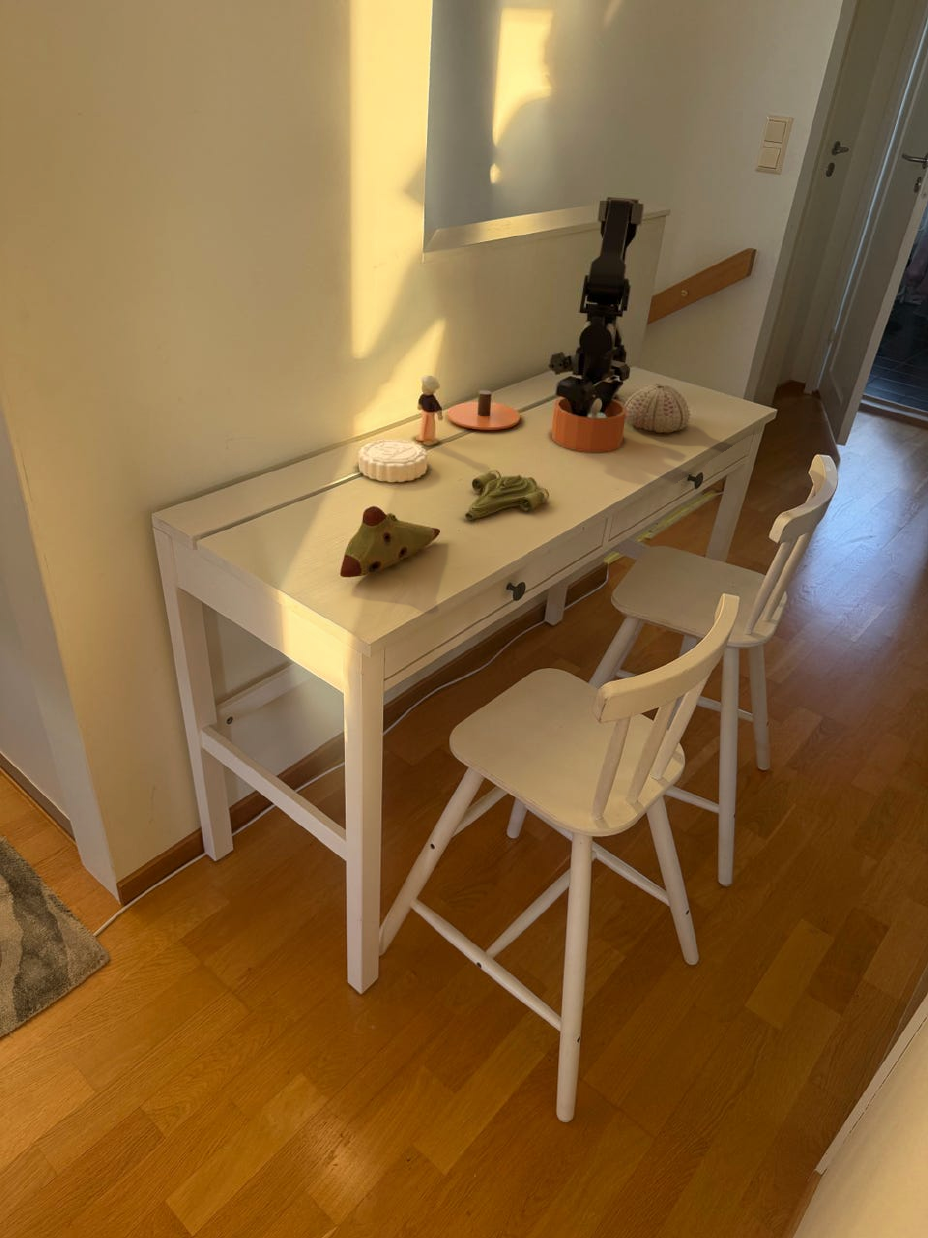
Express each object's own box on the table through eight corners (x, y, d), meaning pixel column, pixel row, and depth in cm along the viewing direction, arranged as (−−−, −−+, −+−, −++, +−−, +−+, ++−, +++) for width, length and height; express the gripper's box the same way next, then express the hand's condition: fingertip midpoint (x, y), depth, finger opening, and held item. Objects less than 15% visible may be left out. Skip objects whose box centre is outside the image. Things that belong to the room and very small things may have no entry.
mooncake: (388, 449, 164) (388, 431, 162) (440, 467, 159) (441, 448, 157) (344, 470, 156) (344, 450, 154) (398, 489, 150) (398, 469, 148)
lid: (474, 401, 188) (476, 375, 185) (533, 418, 181) (535, 391, 178) (432, 420, 178) (433, 392, 175) (493, 438, 171) (494, 410, 168)
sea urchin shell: (646, 408, 189) (652, 371, 185) (701, 426, 181) (709, 388, 177) (608, 422, 181) (613, 384, 177) (664, 442, 173) (671, 402, 169)
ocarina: (426, 533, 137) (428, 473, 132) (452, 545, 135) (455, 484, 129) (328, 580, 124) (325, 516, 119) (355, 595, 122) (353, 529, 116)
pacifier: (565, 431, 171) (594, 437, 168) (568, 399, 167) (597, 405, 165) (580, 420, 176) (609, 425, 174) (583, 389, 173) (612, 394, 170)
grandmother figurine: (406, 438, 169) (407, 372, 162) (420, 433, 172) (422, 368, 165) (435, 450, 165) (437, 383, 158) (449, 445, 167) (452, 378, 161)
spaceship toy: (436, 508, 145) (437, 488, 143) (502, 475, 157) (503, 456, 155) (498, 532, 139) (499, 512, 137) (561, 496, 151) (563, 477, 149)
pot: (573, 420, 181) (577, 389, 178) (633, 437, 175) (638, 405, 171) (538, 439, 172) (541, 406, 168) (600, 458, 165) (605, 424, 162)
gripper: (585, 323, 173) (576, 400, 182) (534, 343, 160) (527, 426, 169) (636, 334, 168) (624, 414, 177) (588, 356, 155) (578, 441, 164)
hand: (588, 423), depth 172 cm, fingers closed on pacifier, 7 cm apart
